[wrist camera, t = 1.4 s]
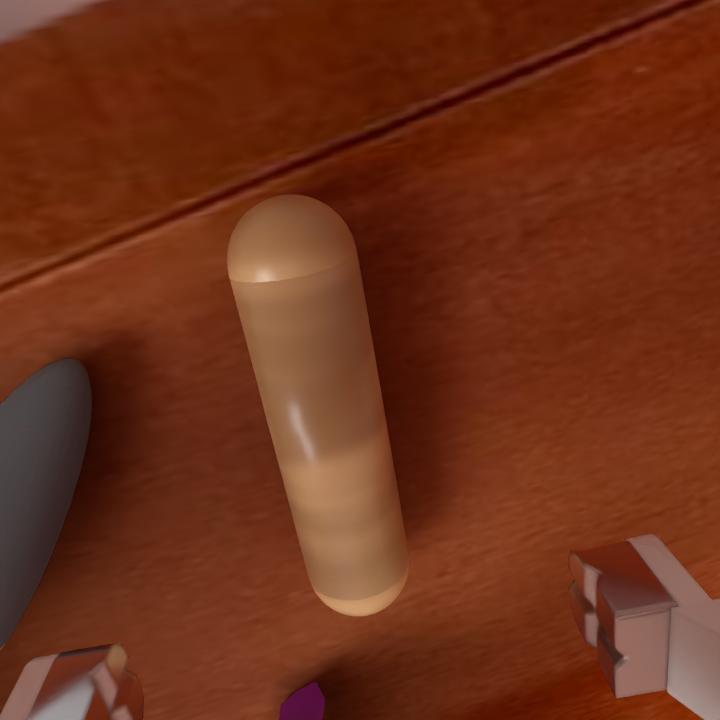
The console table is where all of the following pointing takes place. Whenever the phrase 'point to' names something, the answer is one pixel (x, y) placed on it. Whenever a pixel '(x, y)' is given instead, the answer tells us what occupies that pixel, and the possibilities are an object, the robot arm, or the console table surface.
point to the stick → (321, 397)
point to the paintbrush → (38, 476)
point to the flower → (304, 704)
